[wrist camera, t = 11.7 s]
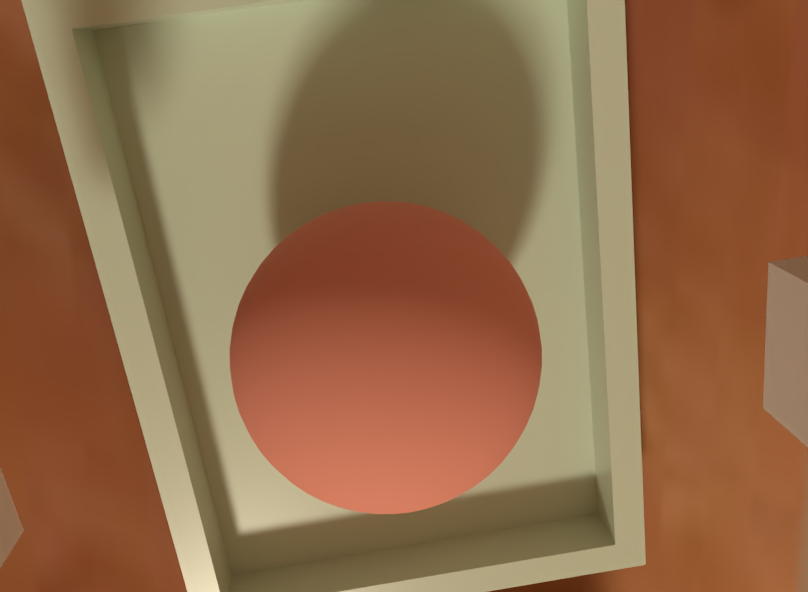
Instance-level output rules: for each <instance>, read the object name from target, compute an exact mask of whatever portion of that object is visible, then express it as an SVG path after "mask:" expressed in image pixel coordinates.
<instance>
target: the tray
mask: <svg viewBox="0 0 808 592" xmlns="http://www.w3.org/2000/svg"><path fill="white" fill-rule="evenodd" d="M22 4H23V8H24V11H25V15H26V18H27V22H28V25H29V29H30V32H31V36H32V40H33V43H34V47H35V50H36V54H37V57H38V61H39V65H40V68H41V72H42V75H43V79H44V82H45V86H46V89H47V93H48V97H49V100H50V104H51V107H52V111H53V114H54V118H55V122H56V125H57V129H58V132H59V136H60V139H61V143H62V146H63V150H64V154H65V157H66V161H67V164H68V168H69V171H70V175H71V178H72V182H73V186H74V189H75V193H76V196H77V200H78V203H79V207H80V211H81V214H82V218H83V221H84V225H85V228H86V232H87V235H88V239H89V243H90V246H91V250H92V253H93V257H94V260H95V264H96V268H97V271H98V275H99V278H100V282H101V285H102V289H103V292H104V296H105V300H106V303H107V307H108V310H109V314H110V317H111V321H112V325H113V328H114V332H115V335H116V339H117V342H118V346H119V349H120V353H121V357H122V360H123V364H124V367H125V371H126V374H127V378H128V382H129V385H130V389H131V392H132V396H133V399H134V403H135V406H136V410H137V414H138V417H139V421H140V424H141V428H142V431H143V435H144V439H145V442H146V446H147V449H148V453H149V456H150V460H151V463H152V467H153V471H154V474H155V478H156V481H157V485H158V488H159V492H160V496H161V499H162V503H163V506H164V510H165V513H166V517H167V520H168V524H169V528H170V531H171V535H172V538H173V542H174V545H175V549H176V553H177V556H178V560H179V563H180V567H181V570H182V574H183V577H184V581H185V585H186V588H187V592H488V591H494V590H500V589H506V588H512V587H517V586H523V585H529V584H535V583H541V582H547V581H553V580H559V579H565V578H570V577H576V576H582V575H588V574H594V573H600V572H606V571H612V570H617V569H623V568H629V567H635V566H641V565H646V559H645V532H644V505H643V478H642V451H641V424H640V397H639V371H638V344H637V317H636V290H635V263H634V236H633V209H632V183H631V156H630V129H629V102H628V75H627V48H626V21H625V0H22ZM379 201H392V202H407V203H412V204H418V205H424V206H427V207H430V208H433V209H436V210H440V211H443V212H445V213H447V214H449V215H451V216H454V217H456V218H458V219H460V220H462V221H463V222H465V223H466V224H468V225H470V226H471V227H473V228H474V229H476V230H477V231H479V232H480V233H481V234H482V235H483V236H484V237H486V238H487V239H488V240H489V241H490V242H491V243H493V244H494V245H495V246H496V247H497V248H498V249H499V250H500V251H501V252H502V254H503V255H504V256H505V257H506V258H507V259H508V260H509V262H510V263H511V264H512V266H513V267H514V269H515V270H516V272H517V274H518V275H519V277H520V278H521V280H522V282H523V284H524V286H525V288H526V290H527V292H528V294H529V297H530V299H531V301H532V303H533V307H534V310H535V313H536V316H537V320H538V325H539V332H540V338H541V346H542V369H541V377H540V385H539V390H538V394H537V398H536V401H535V405H534V409H533V411H532V414H531V416H530V418H529V421H528V423H527V426H526V427H525V429H524V431H523V433H522V434H521V436H520V438H519V439H518V441H517V443H516V444H515V446H514V448H513V449H512V450H511V451H510V453H509V454H508V455H507V457H506V458H505V459H504V461H503V462H502V463H501V464H500V465H499V466H498V467H497V468H496V469H495V470H494V471H493V472H492V473H491V474H490V475H489V476H487V477H486V478H485V479H484V480H482V481H481V482H480V483H479V484H477V485H476V486H474V487H473V488H471V489H469V490H468V491H466V492H465V493H463V494H461V495H459V496H457V497H455V498H453V499H451V500H449V501H447V502H445V503H442V504H439V505H436V506H434V507H431V508H428V509H423V510H419V511H414V512H409V513H400V514H372V513H364V512H356V511H352V510H348V509H344V508H340V507H337V506H334V505H331V504H329V503H326V502H323V501H321V500H319V499H317V498H315V497H313V496H311V495H309V494H307V493H306V492H304V491H303V490H301V489H300V488H298V487H297V486H295V485H294V484H292V483H291V482H290V481H289V480H288V479H287V478H285V477H284V476H283V475H282V474H281V473H280V472H279V471H278V470H276V469H275V468H274V467H273V466H272V465H271V464H270V462H269V461H268V460H267V459H266V458H265V457H264V455H263V454H262V453H261V452H260V450H259V449H258V447H257V446H256V444H255V443H254V441H253V440H252V438H251V436H250V434H249V432H248V430H247V428H246V426H245V424H244V422H243V420H242V418H241V416H240V413H239V410H238V407H237V404H236V401H235V397H234V393H233V386H232V380H231V373H230V342H231V335H232V328H233V323H234V320H235V316H236V313H237V309H238V305H239V303H240V300H241V298H242V296H243V294H244V291H245V289H246V287H247V285H248V283H249V282H250V280H251V278H252V277H253V275H254V274H255V272H256V270H257V269H258V267H259V266H260V264H261V263H262V262H263V261H264V259H265V258H266V257H267V256H268V255H269V253H270V252H271V251H272V250H273V249H274V248H275V247H276V246H277V245H278V244H279V243H280V242H281V241H282V240H284V239H285V238H286V237H287V236H288V235H289V234H291V233H292V232H294V231H295V230H296V229H298V228H299V227H301V226H302V225H304V224H305V223H307V222H309V221H311V220H313V219H315V218H317V217H319V216H321V215H323V214H325V213H328V212H331V211H334V210H336V209H339V208H342V207H346V206H351V205H355V204H360V203H367V202H379Z"/></svg>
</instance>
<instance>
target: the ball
mask: <svg viewBox="0 0 808 592" xmlns="http://www.w3.org/2000/svg"><path fill="white" fill-rule="evenodd" d="M541 369H542V346H541V338H540V332H539V325H538V320H537V316H536V313H535V310H534V307H533V303H532V301H531V299H530V297H529V294H528V292H527V290H526V288H525V286H524V284H523V282H522V280H521V278H520V277H519V275H518V274H517V272H516V270H515V269H514V267H513V266H512V264H511V263H510V262H509V260H508V259H507V258H506V257H505V256H504V255H503V254H502V252H501V251H500V250H499V249H498V248H497V247H496V246H495V245H494V244H493V243H491V242H490V241H489V240H488V239H487V238H486V237H484V236H483V235H482V234H481V233H480V232H479V231H477V230H476V229H474V228H473V227H471V226H470V225H468V224H466V223H465V222H463V221H462V220H460V219H458V218H456V217H454V216H451V215H449V214H447V213H445V212H443V211H440V210H436V209H433V208H430V207H427V206H424V205H418V204H412V203H407V202H392V201H379V202H367V203H360V204H355V205H351V206H346V207H342V208H339V209H336V210H334V211H331V212H328V213H325V214H323V215H321V216H319V217H317V218H315V219H313V220H311V221H309V222H307V223H305V224H304V225H302V226H301V227H299V228H298V229H296V230H295V231H294V232H292V233H291V234H289V235H288V236H287V237H286V238H285V239H284V240H282V241H281V242H280V243H279V244H278V245H277V246H276V247H275V248H274V249H273V250H272V251H271V252H270V253H269V255H268V256H267V257H266V258H265V259H264V261H263V262H262V263H261V264H260V266H259V267H258V269H257V270H256V272H255V274H254V275H253V277H252V278H251V280H250V282H249V283H248V285H247V287H246V289H245V291H244V294H243V296H242V298H241V300H240V303H239V305H238V309H237V313H236V316H235V320H234V323H233V328H232V335H231V342H230V373H231V380H232V386H233V393H234V397H235V401H236V404H237V407H238V410H239V413H240V416H241V418H242V420H243V422H244V424H245V426H246V428H247V430H248V432H249V434H250V436H251V438H252V440H253V441H254V443H255V444H256V446H257V447H258V449H259V450H260V452H261V453H262V454H263V455H264V457H265V458H266V459H267V460H268V461H269V462H270V464H271V465H272V466H273V467H274V468H275V469H276V470H278V471H279V472H280V473H281V474H282V475H283V476H284V477H285V478H287V479H288V480H289V481H290V482H291V483H292V484H294V485H295V486H297V487H298V488H300V489H301V490H303V491H304V492H306V493H307V494H309V495H311V496H313V497H315V498H317V499H319V500H321V501H323V502H326V503H329V504H331V505H334V506H337V507H340V508H344V509H348V510H352V511H356V512H364V513H372V514H400V513H409V512H414V511H419V510H423V509H428V508H431V507H434V506H436V505H439V504H442V503H445V502H447V501H449V500H451V499H453V498H455V497H457V496H459V495H461V494H463V493H465V492H466V491H468V490H469V489H471V488H473V487H474V486H476V485H477V484H479V483H480V482H481V481H482V480H484V479H485V478H486V477H487V476H489V475H490V474H491V473H492V472H493V471H494V470H495V469H496V468H497V467H498V466H499V465H500V464H501V463H502V462H503V461H504V459H505V458H506V457H507V455H508V454H509V453H510V451H511V450H512V449H513V448H514V446H515V444H516V443H517V441H518V439H519V438H520V436H521V434H522V433H523V431H524V429H525V427H526V426H527V423H528V421H529V418H530V416H531V414H532V411H533V409H534V405H535V401H536V398H537V394H538V390H539V385H540V377H541Z"/></svg>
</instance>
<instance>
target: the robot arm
mask: <svg viewBox="0 0 808 592" xmlns="http://www.w3.org/2000/svg"><path fill="white" fill-rule="evenodd" d="M763 409H765V410H766V411H767V412H768V413H769V414H770V415H771V416H773V417H774V418H775V419H776V420H777V421H778V422H779V423H781V424H782V425H783V426H784V427H785V428H786V429H787V430H789V431H790V432H791V433H792V434H793V435H794V436H795V437H797V438H798V439H799V440H800V441H801V442H802V443H803V444H804V445H806V446H807V447H808V256H805V257H799V258H792V259H786V260H780V261H773V262H769V265H768V291H767V317H766V343H765V369H764V395H763ZM23 531H24V530H23V527H22V524H21V522H20V519H19V516H18V514H17V511H16V508H15V506H14V503H13V500H12V498H11V495H10V492H9V490H8V487H7V484H6V482H5V479H4V476H3V474H2V471H1V468H0V568H1V566H2V565H3V563H4V562H5V560H6V558H7V557H8V555H9V553H10V552H11V550H12V549H13V547H14V545H15V544H16V542H17V541H18V539H19V537H20V536H21V534H22V533H23Z"/></svg>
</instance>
